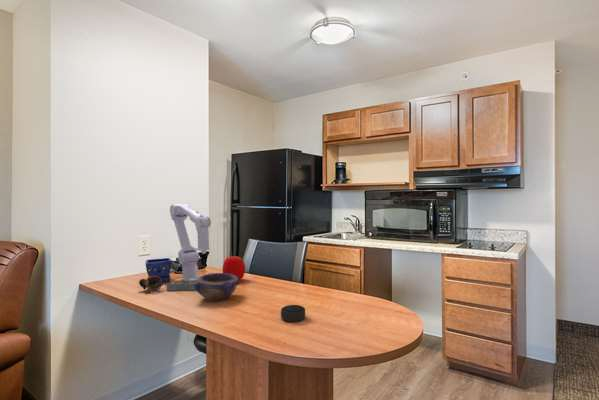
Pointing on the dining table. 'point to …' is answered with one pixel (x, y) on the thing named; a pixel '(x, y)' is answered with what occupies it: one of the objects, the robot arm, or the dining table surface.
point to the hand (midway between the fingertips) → (204, 265)
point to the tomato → (234, 266)
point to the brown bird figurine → (151, 283)
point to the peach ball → (179, 281)
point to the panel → (180, 286)
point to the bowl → (216, 285)
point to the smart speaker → (293, 313)
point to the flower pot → (159, 268)
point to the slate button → (192, 280)
